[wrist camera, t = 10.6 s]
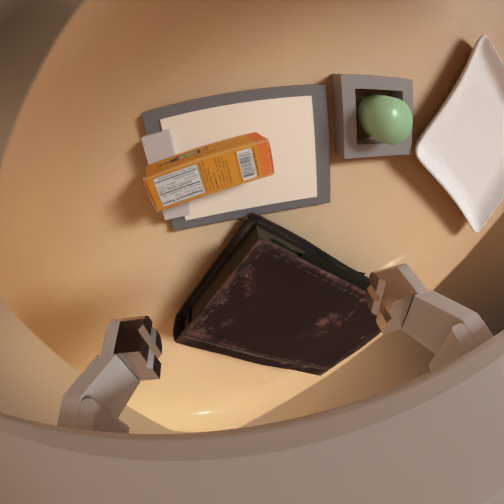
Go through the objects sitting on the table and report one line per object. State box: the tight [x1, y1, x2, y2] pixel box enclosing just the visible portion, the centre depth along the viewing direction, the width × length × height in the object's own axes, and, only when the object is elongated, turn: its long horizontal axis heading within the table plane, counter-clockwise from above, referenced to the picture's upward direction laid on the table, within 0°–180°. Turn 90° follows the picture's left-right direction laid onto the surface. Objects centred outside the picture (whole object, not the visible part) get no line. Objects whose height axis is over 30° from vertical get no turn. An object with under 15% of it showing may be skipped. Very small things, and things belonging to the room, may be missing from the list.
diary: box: [173, 212, 381, 376], centre depth 34 cm, size 19×25×5 cm
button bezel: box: [332, 74, 413, 159], centre depth 22 cm, size 8×8×2 cm
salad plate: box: [415, 35, 504, 233], centre depth 24 cm, size 21×21×3 cm
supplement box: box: [142, 132, 274, 212], centre depth 22 cm, size 3×3×10 cm
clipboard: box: [141, 84, 330, 231], centre depth 24 cm, size 16×12×2 cm
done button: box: [357, 94, 413, 145], centre depth 21 cm, size 4×4×3 cm
